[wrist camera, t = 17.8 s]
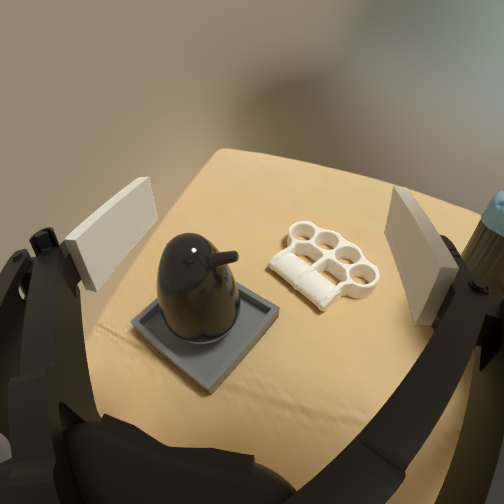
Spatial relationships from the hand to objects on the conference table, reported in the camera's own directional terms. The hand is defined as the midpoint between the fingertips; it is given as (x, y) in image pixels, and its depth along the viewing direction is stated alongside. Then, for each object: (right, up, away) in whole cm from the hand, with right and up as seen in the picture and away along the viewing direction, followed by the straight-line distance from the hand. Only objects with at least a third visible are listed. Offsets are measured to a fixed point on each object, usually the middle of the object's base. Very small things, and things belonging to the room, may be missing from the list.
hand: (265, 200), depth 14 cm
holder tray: (-7, -13, +24) cm, 28 cm away
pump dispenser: (-7, -12, +24) cm, 28 cm away
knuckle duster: (+11, -6, +32) cm, 35 cm away
